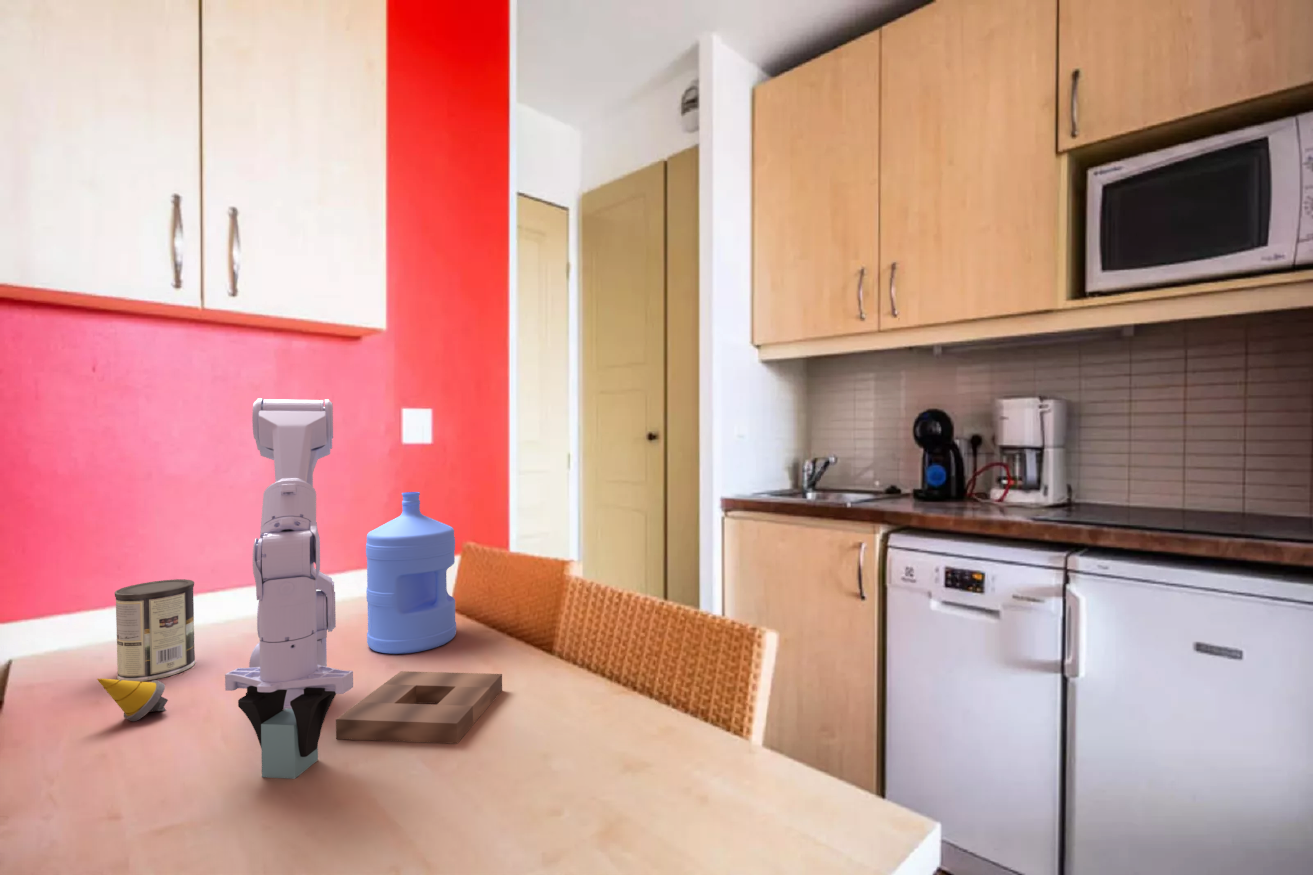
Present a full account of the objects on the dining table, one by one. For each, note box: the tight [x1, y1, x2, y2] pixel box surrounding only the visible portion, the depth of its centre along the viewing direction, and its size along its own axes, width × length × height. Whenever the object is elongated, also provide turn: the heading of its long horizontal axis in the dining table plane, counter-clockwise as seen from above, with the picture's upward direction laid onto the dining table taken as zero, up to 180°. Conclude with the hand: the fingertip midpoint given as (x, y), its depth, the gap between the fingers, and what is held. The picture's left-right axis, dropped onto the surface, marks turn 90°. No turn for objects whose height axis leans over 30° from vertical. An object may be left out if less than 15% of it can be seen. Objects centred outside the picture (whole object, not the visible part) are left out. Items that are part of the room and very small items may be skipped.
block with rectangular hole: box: [335, 670, 503, 744], centre depth 85 cm, size 16×16×2 cm
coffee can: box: [114, 578, 196, 682], centre depth 102 cm, size 10×10×14 cm
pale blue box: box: [260, 709, 319, 780], centre depth 71 cm, size 4×4×6 cm
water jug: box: [365, 491, 457, 655], centre depth 116 cm, size 16×16×28 cm
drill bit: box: [96, 678, 169, 722], centre depth 84 cm, size 5×5×10 cm
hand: (290, 751), depth 71 cm, fingers closed on pale blue box, 4 cm apart
